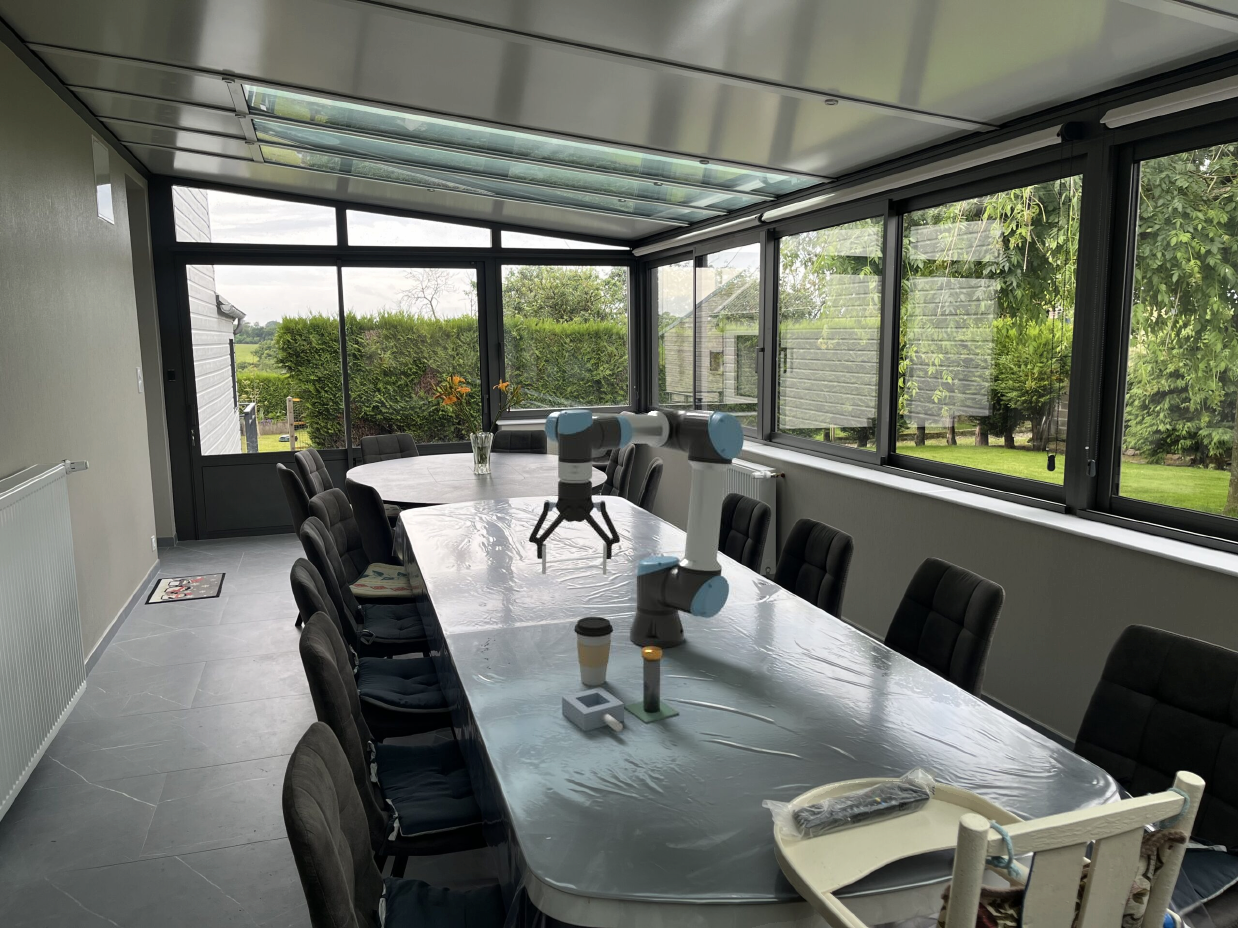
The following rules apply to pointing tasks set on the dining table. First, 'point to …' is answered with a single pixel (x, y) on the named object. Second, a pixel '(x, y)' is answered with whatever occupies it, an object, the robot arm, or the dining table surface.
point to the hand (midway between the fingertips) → (574, 572)
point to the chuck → (593, 709)
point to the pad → (650, 717)
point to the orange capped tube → (651, 678)
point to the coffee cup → (593, 648)
